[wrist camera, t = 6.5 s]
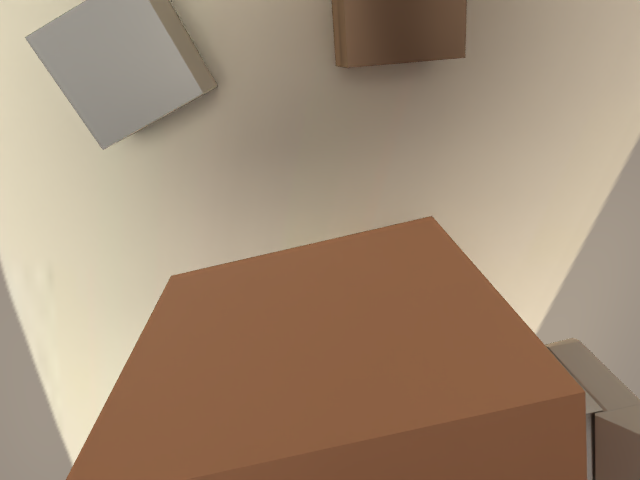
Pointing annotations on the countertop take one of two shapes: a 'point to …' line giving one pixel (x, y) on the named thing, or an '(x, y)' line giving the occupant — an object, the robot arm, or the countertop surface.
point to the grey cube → (122, 64)
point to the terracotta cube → (340, 373)
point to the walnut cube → (398, 31)
